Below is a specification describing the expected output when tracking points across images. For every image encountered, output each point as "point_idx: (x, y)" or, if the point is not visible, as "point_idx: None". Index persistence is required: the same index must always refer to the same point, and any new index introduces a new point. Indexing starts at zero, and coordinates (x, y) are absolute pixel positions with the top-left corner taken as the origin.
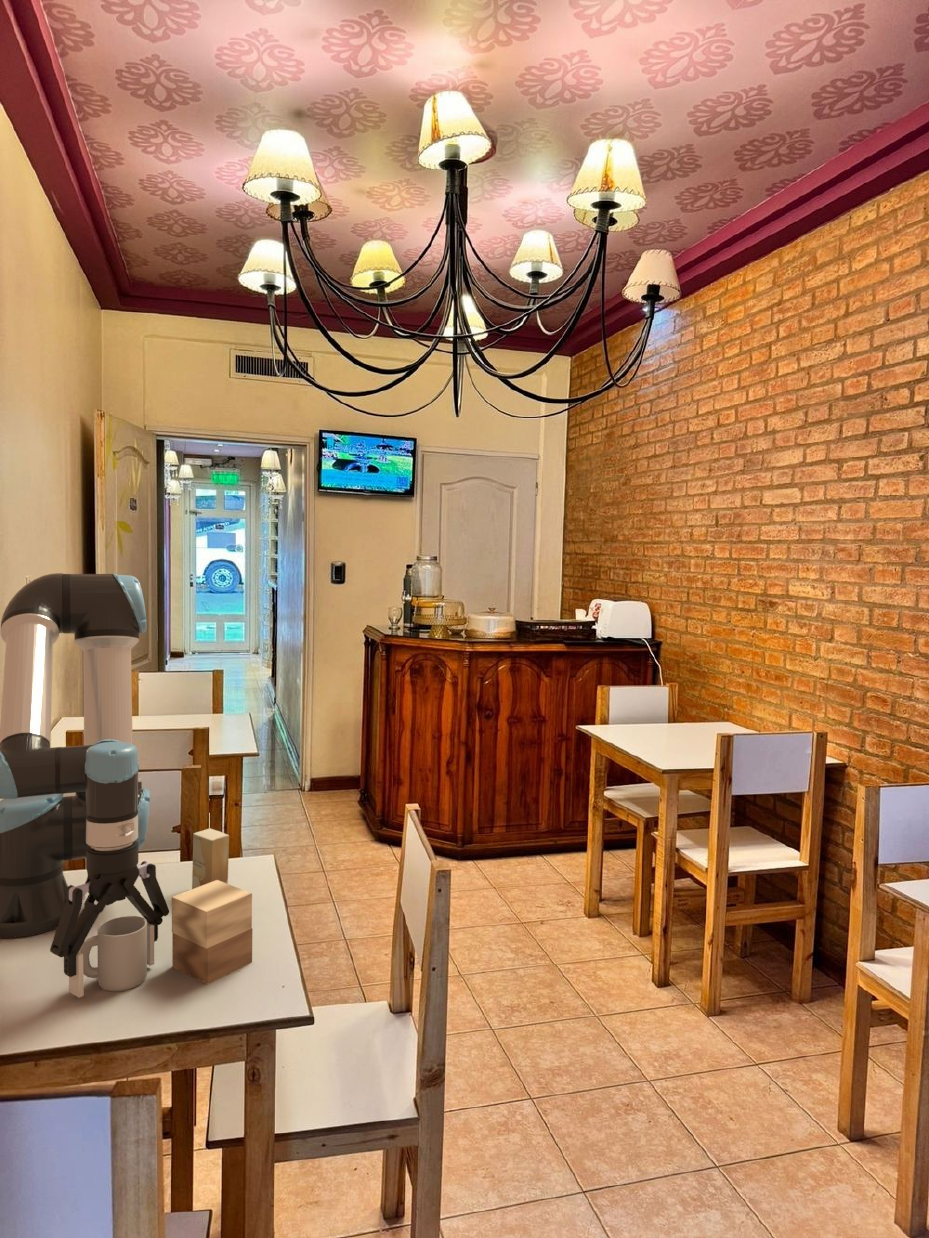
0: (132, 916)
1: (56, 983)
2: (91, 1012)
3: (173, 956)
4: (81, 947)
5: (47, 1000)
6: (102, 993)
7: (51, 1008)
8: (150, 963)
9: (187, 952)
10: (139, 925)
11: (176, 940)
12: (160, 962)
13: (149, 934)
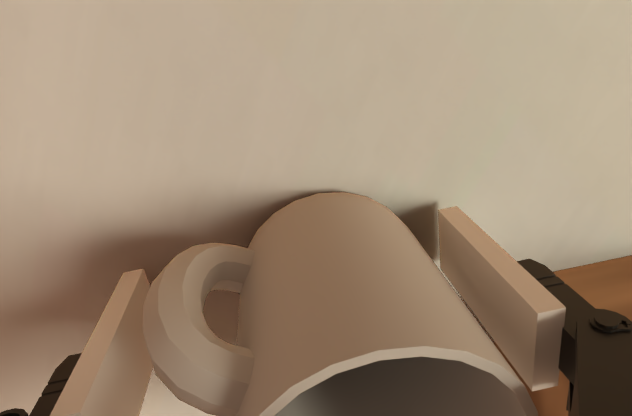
0: (512, 389)
1: (103, 129)
2: (169, 390)
3: None
4: (149, 351)
5: (46, 242)
6: (237, 309)
7: (52, 303)
8: (445, 272)
9: (538, 413)
10: (498, 383)
11: (562, 382)
12: (490, 230)
13: (507, 353)
